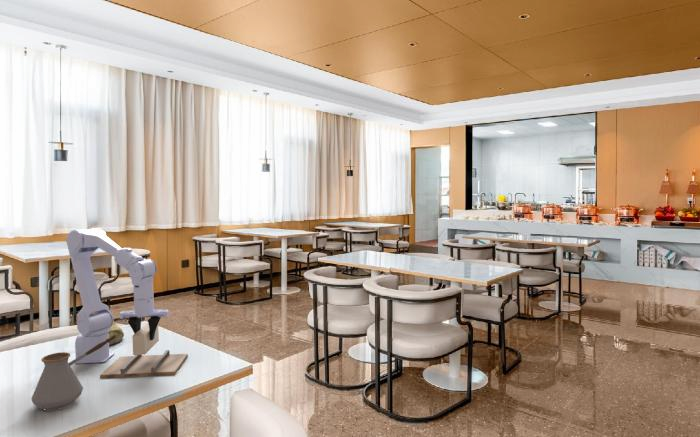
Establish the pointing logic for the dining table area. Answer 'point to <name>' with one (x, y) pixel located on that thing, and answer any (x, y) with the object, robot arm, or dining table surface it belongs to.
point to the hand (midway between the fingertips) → (145, 339)
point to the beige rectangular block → (144, 340)
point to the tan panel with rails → (145, 365)
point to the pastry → (115, 333)
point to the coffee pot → (60, 380)
